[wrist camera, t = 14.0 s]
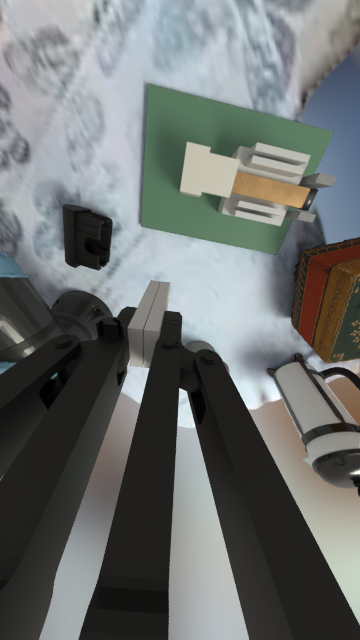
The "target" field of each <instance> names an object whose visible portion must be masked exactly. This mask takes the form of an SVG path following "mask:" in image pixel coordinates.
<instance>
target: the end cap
mask: <svg viewBox="0 0 360 640" xmlns="http://www.w3.org/2000/svg"><path fill="white" fill-rule="evenodd" d="M112 224H113V222H112V220H111V219H110V218H107V217H104V216H101V215H98V214H96V213H93V212H91V210H90V209H87V208H83V207H80V206H75V205H69V204H65V205H63V225H64V245H65V261H66V263H67V264H68V265H70V266H72V267H74V268H76V267H78V266H80V265H82V266H85V267H88V268H92V269H95V270H98V271H99V270H100V269H101V267H100V266H102V267H104V266H106V264H107V263H108V262H109V258H110V246H111V235H112Z"/></svg>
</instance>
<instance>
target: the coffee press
mask: <svg viewBox="0 0 360 640" xmlns="http://www.w3.org/2000/svg"><path fill="white" fill-rule="evenodd" d="M271 372H272V373H271ZM267 374H269V375H270V376H271V377H272V378H273V379H274V382H275V385H276V387H277V389H278V391H279V393H280V395H281V398H282V399H283V402H284V404H285V406H286V408H287V410H288V412H289V414H290V416H291V419H292V421H293V422H294V425H295V427H296V429H297V431H298V433H299V435H300V437H301V442H302V444H303V446H304V448H305V450H306V452H308V454H309V457H308V458H305V459H304V461H305V462H306V463H307V464H309V465H310V466H312V467H313V469H314V471H315V472H316V473H317V474H319V475H320V477H321V478H322V479H323V480H324V481H326V482H327V483H329V484H331V485H333V486H336V487H340V488H358V494H359V496H360V426H358V424H357V423H356V422H355V421H354V419H353V418H352V417H351V415H350V414H349V413H348V411H347V410H346V409H345V407H344V406H343V405H342V403H341V402H340V401H339V400H338V398H337V397H336V396H335V395H334V393H333V392H332V391H331V389H330V388H329V386H328V385H327V384H326V383H325V380H324V379H326V378H327V377H330V376H333V375H337V374H339V375H343V376H346V377H347V378H349V379H350V380H351V381H352V382H353V383H354V384H355V386H356V387H357V388H358V389H359V390H360V378H359V377H358V376H357V375H356V374H354V373H353V372H352V371H350V370H348V369H345V368H341V367H334V368H330V369H326V370H324V371H322V372H317V371H316V370H315V368H314V367H313V366H311V365H310V364H307V363H304V360H303V356H302V355H301V354H295V362H294V363H289V364H286V365H284V366H282V367H281V368H279V369H278V370H277V371H275V370H273V369H271V368H268V370H267ZM274 374H275V375H274Z"/></svg>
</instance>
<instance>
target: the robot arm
mask: <svg viewBox="0 0 360 640" xmlns="http://www.w3.org/2000/svg"><path fill="white" fill-rule="evenodd" d="M169 290H170V283H168V282H161V283H160V281H152V280H151V281H150V283H149V285H148V287H147V289H146V291H145V293H144V295H143V297H142V299H141V301H140V304H139V306H138V308H135V307H126V308H124V309H122V310H121V312H120V313H119V315H118V317H117V318H116V317H113V316H112V313H111V311H110V310H109V308H108V307H107V306H106V305H105V303H103V302H102V301H101V300H100V299H98V298H97V297H95V296H93V295H91V294H89V293H86V292H81V291H72V292H68V293H66V294H64V295H62V296H61V297H60V298H58V299H57V300H56V301H55V303H54V304H53V306H52V308H51V310H50V308H49V307H48V305H47V304H46V302H45V301H44V300H43V298H42V297H41V295H40V294H39V292H38V291H37V290H36V288H35V287H34V285H33V284H32V283H31V281H30V280H29V276H28V275H26V274H25V273H24V272H23V270H22V269H21V268H20V266H19V265H18V264H17V263H16V261H15V260H14V259H13V258H12V257H11V256H10V255H8V254H7V253H4V252H1V251H0V479H1V477H2V476H3V475H4V474H5V475H4V476H3V478H2V479H1V481H0V640H39V637H40V634H41V631H42V628H43V625H44V623H45V619H46V616H47V613H48V610H49V607H50V602H51V598H52V594H53V586H54V580H55V576H56V572H57V569H58V566H59V563H60V560H61V557H62V555H63V552H64V549H65V546H66V543H67V541H68V538H69V535H70V532H71V529H72V527H73V524H74V521H75V518H76V515H77V512H78V510H79V507H80V504H81V501H82V498H83V495H84V492H85V490H86V487H87V484H88V481H89V479H90V476H91V473H92V470H93V467H94V464H95V462H96V459H97V456H98V453H99V451H100V448H101V445H102V442H103V439H104V436H105V434H106V431H107V428H108V425H109V422H110V420H111V416H112V414H113V411H114V408H115V405H116V403H117V400H118V397H119V394H120V392H121V389H122V386H123V383H124V380H125V377H126V375H127V365H128V362H130V366H137V367H143V364H144V367H146V368H150V369H149V373H148V377H147V381H146V385H145V389H144V393H143V398H142V402H141V406H140V410H139V414H138V419H137V423H136V426H135V431H134V435H133V439H132V443H131V447H130V451H129V455H128V459H127V464H126V467H125V472H124V476H123V480H122V484H121V488H120V492H119V496H118V500H117V505H116V509H115V513H114V517H113V521H112V525H111V529H110V534H109V538H108V542H107V546H106V550H105V554H104V558H103V562H102V566H101V570H100V574H99V578H98V581H97V584H96V587H95V590H94V593H93V596H92V598H91V601H90V604H89V606H88V609H87V613H86V616H85V619H84V623H83V626H82V629H81V633H80V636H79V640H168V624H169V598H168V596H169V594H168V589H169V565H170V564H169V563H170V547H171V546H170V545H171V527H172V509H173V491H174V474H175V473H174V472H175V455H176V437H177V419H178V400H179V388H181V389H183V390H185V391H187V394H188V398H189V402H190V406H191V410H192V414H193V418H194V422H195V426H196V430H197V434H198V438H199V442H200V445H201V450H202V453H203V458H204V462H205V465H206V469H207V473H208V477H209V481H210V485H211V489H212V493H213V497H214V501H215V505H216V509H217V513H218V517H219V521H220V525H221V528H222V533H223V537H224V541H225V545H226V549H227V552H228V557H229V561H230V565H231V568H232V572H233V576H234V580H235V584H236V588H237V592H238V596H239V600H240V604H241V608H242V612H243V616H244V619H245V624H246V628H247V631H248V635H249V640H360V625H359V623H358V621H357V619H356V617H355V615H354V613H353V611H352V609H351V608H350V606H349V604H348V602H347V600H346V598H345V596H344V594H343V592H342V590H341V588H340V586H339V584H338V583H337V581H336V579H335V577H334V575H333V573H332V571H331V569H330V567H329V565H328V563H327V561H326V559H325V558H324V556H323V554H322V552H321V550H320V548H319V546H318V544H317V542H316V540H315V538H314V536H313V534H312V532H311V531H310V529H309V527H308V525H307V523H306V521H305V519H304V517H303V515H302V513H301V511H300V509H299V507H298V505H297V504H296V502H295V500H294V498H293V496H292V494H291V492H290V490H289V488H288V486H287V484H286V482H285V481H284V479H283V477H282V475H281V473H280V471H279V469H278V467H277V465H276V463H275V461H274V459H273V457H272V456H271V453H270V452H269V450H268V448H267V446H266V444H265V442H264V440H263V438H262V436H261V434H260V432H259V431H258V428H257V427H256V425H255V423H254V421H253V419H252V417H251V415H250V413H249V411H248V409H247V407H246V405H245V403H244V401H243V400H242V398H241V396H240V394H239V392H238V390H237V388H236V386H235V384H234V382H233V380H232V378H231V376H230V375H229V373H228V371H227V369H226V367H225V365H224V363H223V361H222V359H221V357H220V356H219V355H218V354H217V353H216V352H214V351H212V350H209V349H201V350H199V351H197V352H196V353H195V352H192V351H190V350H188V349H186V348H185V347H184V346H183V345H182V343H181V329H182V316H181V314H180V313H179V312H172V311H168V301H169Z"/></svg>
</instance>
